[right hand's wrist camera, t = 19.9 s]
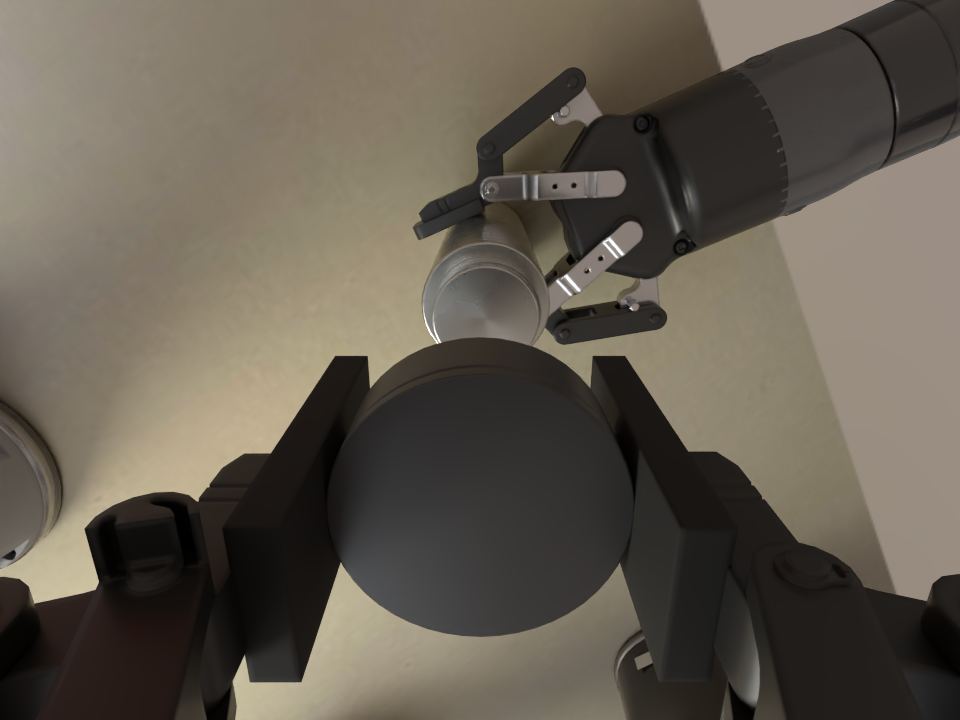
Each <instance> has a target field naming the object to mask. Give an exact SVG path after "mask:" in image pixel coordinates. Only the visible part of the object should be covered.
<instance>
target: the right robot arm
mask: <svg viewBox="0 0 960 720" xmlns="http://www.w3.org/2000/svg"><path fill="white" fill-rule="evenodd" d="M369 390H370V384H369V369H368V356H335V357H334V359H333V360H332V362H331V363H330V365H329V366H328V368H327V369H326V371H325V372H324V374H323V375H322V377H321V379H320V380H319V382H318V383H317V385H316V386H315V388H314V389H313V391H312V392H311V394H310V395H309V397H308V398H307V400H306V401H305V403H304V404H303V406H302V407H301V409H300V410H299V412H298V413H297V415H296V416H295V418H294V419H293V421H292V422H291V424H290V425H289V427H288V428H287V430H286V432H285V433H284V435H283V436H282V438H281V439H280V441H279V442H278V444H277V445H276V447H275V448H274V450H273V451H272V453H271V454H243V455H242V456H240V457H239V458H237V459H235V460H234V461H232V462H231V463H229V464H228V465H226V466H225V467H223V468H222V469H221V470H220V472H219V473H218V474H217V476H216V477H215V478H214V479H213V481H212V482H211V483H210V487H209V488H206V490H205V491H204V492H203V494H202V495H201V496H200V497H199V502H197V501H195V500H194V499H193V498H192V497H190V496H189V495H185V494H181V493H176V492H159V493H151V494H146V495H142V496H137V497H133V498H131V499H128V500H126V501H123V502H121V503H118V504H116V505H113V506H111V507H110V508H108V509H107V510H105V511H104V512H102V513H100V514H99V515H97V516H96V517H95V518H94V519H93V520H92V521H91V522H90V523H89V524H88V526H87V527H86V528H85V533H86V536H87V540H88V543H89V547H90V550H91V554H92V558H93V561H94V565H95V568H96V572H97V576H98V579H99V584H98V586H97V588H96V590H94V591H90V592H86V593H83V594H78V595H73V596H69V597H64V598H59V599H54V600H50V601H45V602H40V603H36V604H34V601H33V598H32V595H31V592H30V589H29V586H27V585H26V584H25V583H24V582H22V581H21V580H20V579H15V578H8V577H0V720H235V716H236V707H237V706H236V698H235V691H234V686H233V679H234V677H235V675H236V672H237V670H238V668H239V666H240V664H241V661H242V659H243V657H244V655H245V657H246V663H247V668H248V674H249V679H250V682H302V678H303V675H304V672H305V669H306V666H307V663H308V660H309V657H310V654H311V651H312V648H313V645H314V642H315V639H316V636H317V633H318V630H319V627H320V624H321V620H322V617H323V614H324V611H325V608H326V605H327V602H328V599H329V596H330V593H331V590H332V587H333V584H334V581H335V578H336V575H337V572H338V569H339V566H340V562H341V561H340V559H339V557H338V555H337V553H336V551H335V549H334V546H333V543H332V540H331V537H330V534H329V529H328V522H327V512H326V493H327V485H328V480H329V477H330V473H331V470H332V466H333V464H334V462H335V459H336V457H337V455H338V453H339V450H340V448H341V446H342V444H343V441H344V439H345V437H346V435H347V433H348V430H349V428H350V426H351V424H352V421H353V419H354V417H355V415H356V412H357V410H358V408H359V406H360V404H361V402H362V400H363V399H364V397H365V396H366V394H367V393H368V391H369ZM591 390H592V392H593V393H594V395H595V396H596V398H597V399H598V401H599V403H600V405H601V407H602V409H603V411H604V413H605V415H606V418H607V420H608V422H609V424H610V426H611V429H612V431H613V433H614V435H615V437H616V440H617V442H618V444H619V446H620V449H621V451H622V453H623V455H624V457H625V460H626V462H627V464H628V467H629V471H630V474H631V477H632V481H633V487H634V495H635V505H634V516H633V525H632V533H631V536H630V539H629V542H628V545H627V548H626V550H625V552H624V554H623V556H622V558H621V560H620V564H621V568H622V571H623V574H624V577H625V580H626V583H627V586H628V589H629V592H630V595H631V598H632V601H633V604H634V607H635V610H636V613H637V616H638V619H639V622H640V625H641V629H642V632H643V635H644V638H645V641H646V644H647V647H648V650H649V653H650V656H651V659H652V662H653V665H654V668H655V671H656V674H657V677H658V680H659V682H710V681H711V676H712V670H713V665H714V659H715V654H716V653H717V655H718V658H719V660H720V662H721V664H722V666H723V668H724V671H725V673H726V675H727V677H728V681H727V686H726V691H725V697H724V702H723V707H722V712H721V717H720V720H960V574H956V575H949V576H942V577H941V578H939V579H938V580H937V581H936V582H934V583H933V585H932V588H931V591H930V594H929V597H928V600H927V601H923V600H918V599H914V598H909V597H904V596H900V595H895V594H890V593H885V592H881V591H876V590H873V589H869V588H866V587H863V585H862V583H861V581H860V580H859V578H858V577H857V576H856V574H855V573H854V572H853V570H852V569H851V568H850V567H849V566H847V565H846V564H845V563H843V562H842V561H841V560H839V559H838V558H837V557H835V556H834V555H831V554H829V553H827V552H825V551H823V550H821V549H818V548H816V547H814V546H810V545H806V544H802V543H798V541H797V540H796V539H795V538H794V536H793V535H792V534H791V533H790V531H789V530H788V529H787V527H786V526H785V525H784V524H783V522H782V521H781V520H780V519H779V517H778V516H777V515H776V513H775V512H774V511H773V510H772V508H771V507H770V506H769V505H768V503H767V502H766V501H765V500H762V496H761V494H760V493H759V492H758V490H757V489H756V488H755V487H754V486H751V482H750V480H749V479H748V478H747V476H746V475H745V474H744V473H743V471H742V470H741V469H740V468H739V466H738V465H736V464H735V463H733V462H731V461H730V460H728V459H727V458H725V457H724V456H722V455H721V454H719V453H717V452H688V451H687V449H686V448H685V446H684V445H683V443H682V442H681V440H680V438H679V437H678V435H677V434H676V432H675V431H674V429H673V428H672V426H671V425H670V423H669V422H668V420H667V419H666V417H665V416H664V414H663V413H662V411H661V410H660V408H659V407H658V405H657V404H656V402H655V401H654V399H653V398H652V396H651V395H650V393H649V392H648V390H647V389H646V387H645V386H644V384H643V382H642V381H641V379H640V378H639V376H638V375H637V373H636V372H635V370H634V369H633V367H632V366H631V364H630V363H629V361H628V360H627V358H626V357H625V356H593V360H592V374H591ZM60 505H61V485H60V479H59V475H58V471H57V469H56V466H55V463H54V461H53V459H52V457H51V455H50V453H49V451H48V449H47V448H46V446H45V444H44V443H43V442H42V440H41V439H40V437H39V436H38V435H37V434H36V432H35V431H34V430H33V429H32V428H31V427H30V426H29V425H28V424H27V423H26V422H25V421H24V420H23V419H22V418H21V417H20V416H19V415H18V414H16V413H15V412H14V411H13V410H11V409H10V408H9V407H7V406H6V405H5V404H3V403H2V402H0V569H2V568H4V567H6V566H9V565H11V564H13V563H14V562H16V561H18V560H19V559H20V558H22V557H23V556H24V555H26V554H27V553H28V552H29V551H30V550H31V549H32V548H33V547H34V546H35V545H37V544H38V543H39V542H40V541H41V540H42V539H43V538H44V537H45V536H46V535H47V534H48V533H49V531H50V530H51V528H52V527H53V525H54V523H55V521H56V519H57V516H58V514H59V510H60Z"/></svg>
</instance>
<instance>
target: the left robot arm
mask: <svg viewBox="0 0 960 720" xmlns="http://www.w3.org/2000/svg"><path fill="white" fill-rule="evenodd" d="M585 85H586V78H585V75H584V73H583V72H582V71H581V70H580V69H578V68H574V67H573V68H569V69H567V70H565V71H564V72H563V73H562V74H560V75H559V76H558V77H557V78H555V79H554V80H553V81H552V82H550V83H549V84H548V85H547V86H545V87H544V88H543V89H542V90H540V91H539V92H538V93H537V94H535V95H534V96H533V97H532V98H530V99H529V100H528V101H527V102H525V103H524V104H523V105H522V106H520V107H519V108H518V109H517V110H515V111H514V112H513V113H512V114H510V115H509V116H508V117H507V118H505V119H504V120H503V121H502V122H500V123H499V124H498V125H497V126H495V127H494V128H493V129H492V130H490V131H489V132H488V133H487V134H485V135H484V136H483V137H482V138H481V139H480V140H479V141H478V143H477V153H478V168H479V173H478V176H477V178H476V179H475V181H474V182H472V183H471V184H469V185H467V186H465V187H462V188H460V189H458V190H456V191H454V192H451V193H449V194H447V195H445V196H442V197H440V198H438V199H436V200H434V201H431V202H429V203H428V204H427V205H426V206H425V207H424V208H423V209H422V211H421V212H420V213H419V215H420V217H421V219H422V221H420V222H418V223H416V224H415V225H414V226H413V229H414V231H415V233H416V236H417V238H418V240H421V239H424V238H426V237H428V236H431V235H433V234H435V233H437V232H440V231H442V230H444V229H446V228H449V227H451V226H453V225H455V224H458V223H460V222H462V221H464V220H466V219H469V218H471V217H473V216H476V215H478V214H480V213H483V212H485V206H487V205H489V204H492V203H494V202H502V201H520V200H530V201H540V200H550V203H551V206H552V208H553V211H554V212H555V214H556V215H557V216H558V218H559V219H560V220H561V222H562V224H563V232H564V240H565V242H566V245H567V247H568V250H569V252H568V253H566V254H565V255H564V256H563V257H562V258H561V259H560V260H559V261H558V262H557V263H556V264H555V265H554V267H553V269H552V270H551V271H550V272H549V273H548V274H546V275H545V276H544V279H545V281H546V284H547V287H548V291H549V298H550V310H549V316H548V320H547V323H546V326H545V328H546V329H547V330H548V331H549V332H550V333H551V334H552V335H553V336H554V338H555V340H556V341H557V342H558V343H560V344H563V345H566V344H572V343H578V342H584V341H590V340H596V339H602V338H609V337H615V336H621V335H627V334H633V333H639V332H645V331H651V330H657V329H660V328H662V327H663V326H664V325H665V323H666V321H667V314H666V312H665V311H664V310H663V309H662V308H661V307H660V305H659V292H658V278H657V276H659V275H660V274H661V273H663V272H664V270H665V269H666V268H667V267H668V266H669V265H670V264H671V263H672V262H673V261H674V260H676V259H677V258H679V257H681V256H684V255H686V254H689V253H692V252H694V251H697V250H699V249H702V248H704V247H707V246H709V245H711V244H714V243H716V242H719V241H721V240H724V239H726V238H728V237H731V236H733V235H736V234H738V233H740V232H743V231H745V230H748V229H750V228H753V227H755V226H758V225H760V224H763V223H765V222H767V221H770V220H772V219H775V218H777V217H780V216H784V215H785V216H787V215H790V214H793V213H795V212H798V211H800V210H802V208H804V207H806V206H807V205H809V204H811V203H814V202H816V201H818V200H821V199H823V198H825V197H827V196H829V195H831V194H833V193H835V192H837V191H839V190H841V189H843V188H844V187H846V186H848V185H850V184H851V183H853V182H855V181H856V180H858V179H860V178H862V177H864V176H866V175H869V174H871V173H873V172H875V171H877V170H879V169H882V168H884V167H887V166H889V165H892V164H894V163H896V162H899V161H901V160H904V159H906V158H909V157H911V156H913V155H916V154H918V153H921V152H923V151H926V150H928V149H931V148H934V147H936V146H938V145H940V144H943V143H945V142H947V141H949V140H951V139H954V138H955V137H957V136H959V135H960V0H895V1H892V2H890V3H888V4H885V5H883V6H881V7H879V8H877V9H874V10H872V11H870V12H868V13H866V14H863V15H861V16H859V17H857V18H855V19H852V20H850V21H848V22H846V23H843V24H841V25H839V26H837V27H835V28H832V29H830V30H827V31H825V32H822V33H820V34H817V35H814V36H811V37H807V38H804V39H801V40H797V41H794V42H791V43H787V44H785V45H782V46H779V47H777V48H774V49H772V50H770V51H767V52H765V53H763V54H761V55H757V56H754V57H751V58H749V59H747V60H746V61H745V62H743V63H741V64H739V65H736V66H734V67H732V68H730V69H728V70H726V71H723V72H721V73H719V74H717V75H714V76H712V77H710V78H708V79H705V80H703V81H701V82H699V83H697V84H695V85H692V86H690V87H688V88H686V89H683V90H681V91H679V92H677V93H675V94H672V95H670V96H668V97H666V98H663V99H661V100H659V101H657V102H655V103H652V104H650V105H648V106H646V107H643V108H641V109H639V110H637V111H635V112H632V113H630V114H627V115H613V114H606V115H603V114H602V112H601V111H600V109H599V107H598V106H597V104H596V103H595V101H594V99H593V98H592V96H591V95H590V93H589V91H588V90H587V88H586V87H585ZM548 118H549V119H550V120H551V121H552V122H553V123H554V124H556V125H566V124H568V123H570V122H572V121H577V122H579V123H581V124H582V125H583V126H584V128H583V130H582V132H581V133H580V135H579V137H578V138H577V140H576V142H575V143H574V145H573V146H572V148H571V150H570V151H569V153H568V155H567V156H566V158H565V160H564V161H563V163H562V165H561V166H560V168H559V169H553V170H535V171H524V172H510V173H503V154H504V153H505V152H506V151H508V150H509V149H510V148H511V147H513V146H514V145H515V144H516V143H518V142H519V141H520V140H521V139H523V138H524V137H525V136H527V135H528V134H529V133H530V132H532V131H533V130H534V129H535V128H537V127H538V126H539V125H541V124H542V123H543V122H544V121H546V120H547V119H548ZM585 269H588V270H587V271H585ZM604 271H606V272H610V273H615V274H619V275H624V276H628V277H633V278H636V280H635V282H634V284H633V285H632V286H631V287H630V288H627V289H624V290H622V291H621V292H620V293H619V294H618V296H617V301H612V302H607V303H601V304H595V305H589V306H583V307H577V308H571V309H565V310H563V309H562V308H561V307H560V306H561V305H563V304H564V303H565V302H566V301H567V300H568V299H569V298H570V297H572V296H573V295H576V294H578V293H580V292H581V291H582V290H584V289H585V288H586V287H587V286H588V285H589V284H590V283H591V282H593V281H594V280H595V279H596V278H597V277H598V276H599V275H600V274H602V273H603V272H604ZM614 675H615V680H616V684H617V687H618V690H619V692H620V695H621V699H622V703H623V707H624V712H625V716H626V720H720V717H721V712H722V707H723V702H724V697H725V691H726V686H727V681H728V677H727V675H726V673H725V671H724V668H723V666H722V664H721V662H720V660H719V658H718V655H717V653H716V654H715V659H714V665H713V670H712V676H711V681H710V682H659V680H658V677H657V674H656V671H655V668H654V665H653V662H652V659H651V656H650V653H649V650H648V647H647V644H646V641H645V638H644V635H643V632H641V633H639V634H637V635H636V636H634V637H633V638H632V639H630V640H629V641H628V642H627V643H626V644H625V645H624V646H623V648H622V649H621V650H620V652H619V654H618V656H617V658H616V661H615V666H614Z"/></svg>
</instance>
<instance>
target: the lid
mask: <svg viewBox="0 0 960 720" xmlns="http://www.w3.org/2000/svg"><path fill="white" fill-rule="evenodd" d="M634 505H635V495H634V487H633V481H632V477H631V474H630V471H629V467H628V464H627V462H626V460H625V457H624V455H623V453H622V451H621V449H620V446H619V444H618V442H617V440H616V437H615V435H614V433H613V431H612V429H611V426H610V424H609V422H608V420H607V418H606V415H605V413H604V411H603V409H602V407H601V405H600V403H599V401H598V399H597V398H596V396H595V395H594V393H593V392H592V390H591V389H590V388H589V386H588V385H587V384H586V383H585V382H584V381H583V380H582V379H581V378H580V376H579V375H578V374H576V373H575V372H574V371H573V370H572V369H570V368H569V367H568V366H567V365H566V364H564V363H563V362H561V361H559V360H558V359H556V358H555V357H553V356H552V355H550V354H548V353H546V352H543V351H541V350H539V349H537V348H535V347H532V346H529V345H526V344H523V343H519V342H516V341H511V340H505V339H500V338H486V337H474V338H460V339H455V340H450V341H445V342H441V343H438V344H435V345H432V346H429V347H426V348H423V349H421V350H419V351H417V352H415V353H413V354H411V355H409V356H407V357H406V358H404V359H403V360H401V361H400V362H398V363H397V364H395V365H394V366H392V367H391V368H390V369H389V370H388V371H387V372H386V373H384V374H383V375H382V376H381V377H380V378H379V379H378V380H377V382H376V383H375V384H374V385H373V386H372V387H371V388H370V390H369V391H368V393H367V394H366V396H365V397H364V399H363V400H362V402H361V404H360V406H359V408H358V410H357V412H356V415H355V417H354V419H353V421H352V424H351V426H350V428H349V430H348V433H347V435H346V437H345V439H344V441H343V444H342V446H341V448H340V450H339V453H338V455H337V457H336V459H335V462H334V464H333V466H332V470H331V473H330V477H329V480H328V485H327V493H326V512H327V522H328V529H329V534H330V537H331V540H332V543H333V546H334V549H335V551H336V553H337V555H338V557H339V559H340V561H341V563H342V565H343V567H344V568H345V569H346V571H347V572H348V574H349V575H350V576H351V578H352V579H353V581H354V582H355V583H356V584H357V585H358V586H359V587H360V588H361V589H362V590H363V591H364V592H365V593H366V594H367V595H368V596H369V597H370V598H372V599H373V600H374V601H375V602H376V603H378V604H379V605H380V606H382V607H383V608H385V609H386V610H388V611H389V612H391V613H393V614H394V615H396V616H398V617H400V618H402V619H404V620H406V621H408V622H410V623H413V624H416V625H418V626H421V627H424V628H426V629H430V630H434V631H438V632H442V633H446V634H453V635H460V636H476V637H486V636H501V635H507V634H514V633H519V632H523V631H527V630H530V629H534V628H537V627H540V626H542V625H545V624H547V623H550V622H553V621H555V620H557V619H558V618H560V617H562V616H564V615H566V614H568V613H570V612H571V611H573V610H574V609H576V608H577V607H579V606H580V605H582V604H583V603H584V602H586V601H587V600H588V599H589V598H590V597H591V596H593V595H594V594H595V593H596V592H597V591H598V590H599V589H600V588H601V587H602V586H603V584H604V583H605V582H606V581H607V580H608V579H609V577H610V576H611V575H612V573H613V572H614V570H615V569H616V567H617V566H618V564H619V562H620V560H621V558H622V556H623V554H624V552H625V550H626V548H627V545H628V542H629V539H630V536H631V533H632V525H633V516H634Z"/></svg>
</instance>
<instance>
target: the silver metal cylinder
mask: <svg viewBox="0 0 960 720" xmlns="http://www.w3.org/2000/svg"><path fill="white" fill-rule="evenodd" d="M549 310H550V298H549V291H548V287H547V284H546V281H545V279H544V276H543V274H542V271H541V269H540V266H539V264H538V261H537V259H536V256H535V254H534V251H533V249H532V246H531V244H530V241H529V239H528V236H527V234H526V231H525V229H524V226H523V224H522V221H521V220H520V218H519V217H518V215H517V214H516V213H515V212H514V211H513V210H512V209H511V208H510V207H508V206H507V205H505V204H503V203H501V202H494V203H492V204H489V205H487V206H485V212H483V213H480V214H478V215H476V216H473V217H471V218H469V219H466V220H464V221H462V222H460V223H458V224H455V225H453V226H451V227H449V228H448V230H447V233H446V235H445V237H444V240H443V242H442V245H441V247H440V249H439V252H438V254H437V257H436V259H435V261H434V264H433V266H432V268H431V271H430V273H429V276H428V278H427V280H426V283H425V286H424V290H423V295H422V312H423V317H424V321H425V324H426V326H427V329H428V331H429V333H430V334H431V336H432V337H433V339H434V340H435V341H436V343H437V344H438V343H441V342H445V341H450V340H455V339H460V338H474V337H486V338H500V339H505V340H511V341H516V342H519V343H523V344H526V345H529V346H533V345H534V344H535V342H536V341H537V340H538V339H539V337H540V335H541V334H542V332H543V330H544V328H545V326H546V323H547V320H548V316H549Z"/></svg>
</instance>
